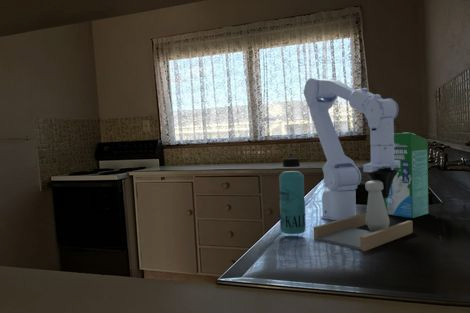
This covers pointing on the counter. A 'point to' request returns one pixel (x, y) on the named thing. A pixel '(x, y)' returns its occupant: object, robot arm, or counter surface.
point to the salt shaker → (376, 207)
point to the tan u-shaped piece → (359, 233)
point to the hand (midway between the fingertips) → (383, 197)
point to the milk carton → (409, 177)
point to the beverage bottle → (292, 199)
